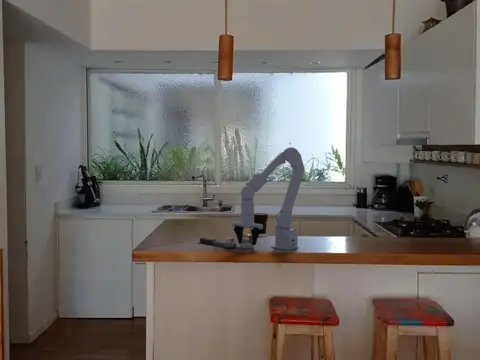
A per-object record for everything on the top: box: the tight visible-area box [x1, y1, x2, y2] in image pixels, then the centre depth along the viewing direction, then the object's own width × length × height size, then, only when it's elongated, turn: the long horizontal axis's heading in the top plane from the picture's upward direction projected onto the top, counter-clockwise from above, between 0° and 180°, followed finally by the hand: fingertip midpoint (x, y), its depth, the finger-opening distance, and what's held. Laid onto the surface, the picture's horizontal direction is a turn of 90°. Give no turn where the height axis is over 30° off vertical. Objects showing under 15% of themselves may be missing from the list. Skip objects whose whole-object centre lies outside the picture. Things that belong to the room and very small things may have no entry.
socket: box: [240, 233, 255, 249], centre depth 241 cm, size 5×5×6 cm
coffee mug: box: [252, 212, 269, 235], centre depth 283 cm, size 12×9×10 cm
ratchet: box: [199, 237, 237, 250], centre depth 246 cm, size 22×5×4 cm, turn 45°
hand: (247, 244), depth 241 cm, fingers closed on socket, 6 cm apart
